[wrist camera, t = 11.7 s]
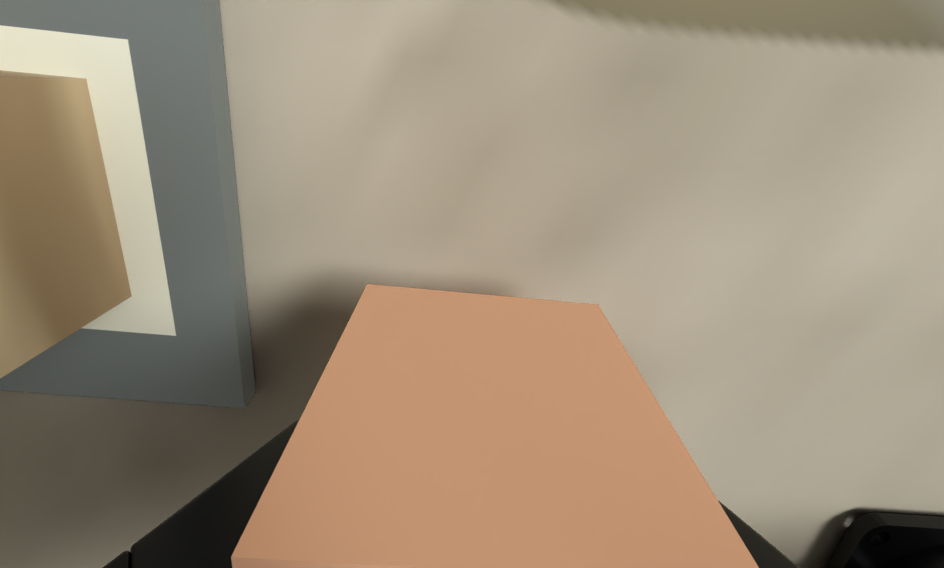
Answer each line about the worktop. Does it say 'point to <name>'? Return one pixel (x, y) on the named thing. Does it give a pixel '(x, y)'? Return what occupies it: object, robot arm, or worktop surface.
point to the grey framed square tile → (150, 199)
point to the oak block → (52, 217)
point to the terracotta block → (484, 449)
